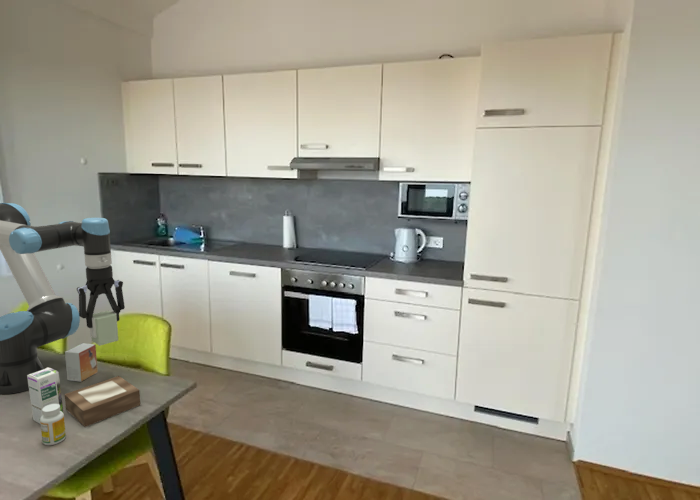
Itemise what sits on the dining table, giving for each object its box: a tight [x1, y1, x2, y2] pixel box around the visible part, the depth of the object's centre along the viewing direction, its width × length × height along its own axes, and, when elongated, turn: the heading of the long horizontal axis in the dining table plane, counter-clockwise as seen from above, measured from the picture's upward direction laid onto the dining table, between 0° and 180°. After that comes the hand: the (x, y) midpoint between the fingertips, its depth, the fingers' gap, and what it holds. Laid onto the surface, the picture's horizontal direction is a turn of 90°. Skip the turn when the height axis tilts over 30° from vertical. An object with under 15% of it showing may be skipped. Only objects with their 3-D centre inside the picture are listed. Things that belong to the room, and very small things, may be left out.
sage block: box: [90, 310, 119, 346], centre depth 152 cm, size 6×6×9 cm
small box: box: [64, 342, 99, 383], centre depth 158 cm, size 8×6×10 cm
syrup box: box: [27, 367, 65, 425], centre depth 132 cm, size 6×6×14 cm
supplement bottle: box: [39, 404, 67, 446], centre depth 123 cm, size 5×5×10 cm
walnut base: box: [64, 375, 141, 428], centre depth 139 cm, size 14×16×5 cm
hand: (104, 333), depth 152 cm, fingers closed on sage block, 6 cm apart
